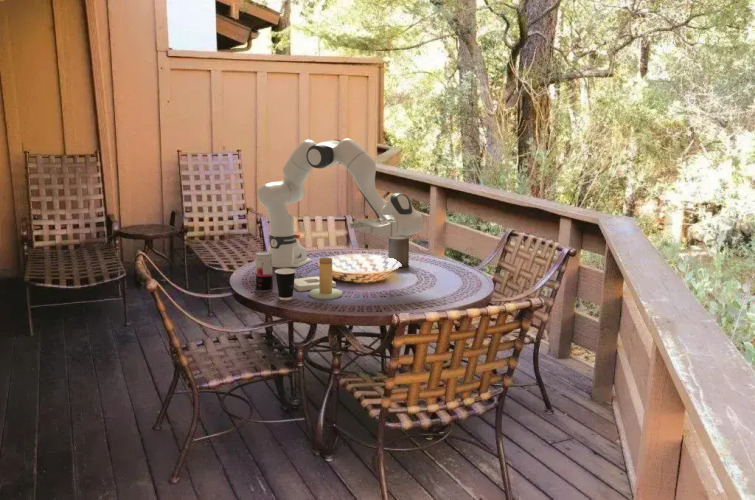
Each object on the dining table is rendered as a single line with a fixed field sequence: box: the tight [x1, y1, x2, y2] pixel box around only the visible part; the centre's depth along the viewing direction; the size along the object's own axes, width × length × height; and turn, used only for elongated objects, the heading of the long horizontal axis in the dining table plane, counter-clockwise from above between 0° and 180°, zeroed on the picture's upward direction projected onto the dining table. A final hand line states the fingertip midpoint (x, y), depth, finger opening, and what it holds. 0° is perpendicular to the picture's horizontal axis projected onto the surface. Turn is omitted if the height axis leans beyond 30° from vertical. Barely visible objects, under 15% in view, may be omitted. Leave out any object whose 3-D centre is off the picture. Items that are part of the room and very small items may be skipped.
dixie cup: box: [274, 267, 297, 301], centre depth 256 cm, size 8×8×11 cm
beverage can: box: [255, 251, 274, 293], centre depth 268 cm, size 6×7×15 cm
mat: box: [308, 287, 343, 300], centre depth 263 cm, size 13×13×1 cm
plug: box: [318, 257, 333, 294], centre depth 262 cm, size 5×5×14 cm
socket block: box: [293, 273, 337, 292], centre depth 280 cm, size 16×20×2 cm
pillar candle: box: [387, 235, 410, 268], centre depth 313 cm, size 10×10×15 cm
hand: (354, 227), depth 263 cm, fingers open, 8 cm apart
